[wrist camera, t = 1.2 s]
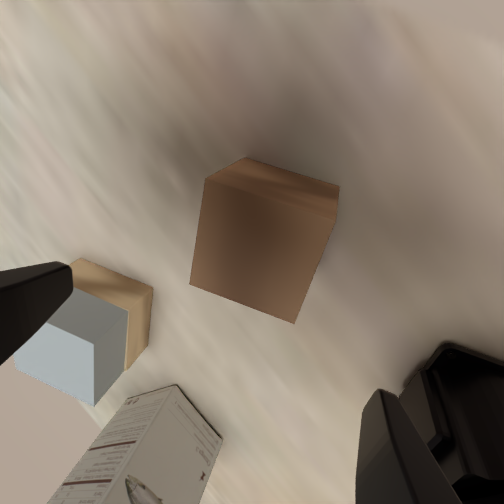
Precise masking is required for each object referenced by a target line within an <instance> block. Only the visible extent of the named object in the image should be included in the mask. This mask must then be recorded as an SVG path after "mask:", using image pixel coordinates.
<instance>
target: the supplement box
mask: <svg viewBox="0 0 504 504" xmlns="http://www.w3.org/2000/svg"><path fill="white" fill-rule="evenodd" d="M222 442H223V441H222V439H221V438H220V437H219V436H218V435H217V434H216V433H215V432H214V431H213V430H212V429H211V428H210V426H209V425H208V424H207V423H206V422H205V421H204V419H203V418H202V417H201V416H200V415H199V413H198V412H197V411H196V410H195V409H194V407H193V406H192V405H191V404H190V402H189V401H188V400H187V399H186V397H185V396H184V395H183V394H182V392H181V391H180V389H179V388H178V387H177V386H175V385H174V386H170V387H166V388H163V389H159V390H156V391H152V392H149V393H146V394H142V395H139V396H136V397H132V398H129V399H127V400H126V401H125V402H124V403H123V405H122V406H121V407H120V408H119V410H118V411H117V412H116V414H115V415H114V416H113V418H112V419H111V420H110V421H109V423H108V424H107V425H106V426H105V428H104V429H103V430H102V432H101V433H100V434H99V436H98V437H97V438H96V439H95V441H94V442H93V443H92V445H91V446H90V447H89V449H88V450H87V451H86V453H85V454H84V455H83V456H82V458H81V459H80V461H79V462H78V463H77V464H76V466H75V467H74V468H73V470H72V471H71V472H70V474H69V475H68V476H67V477H66V479H65V480H64V482H63V483H62V484H61V486H60V487H59V488H58V489H57V491H56V492H55V493H54V495H53V496H52V497H51V499H50V500H49V501H48V502H47V504H199V503H200V500H201V497H202V495H203V492H204V490H205V487H206V484H207V482H208V479H209V477H210V474H211V471H212V469H213V466H214V463H215V461H216V458H217V455H218V453H219V450H220V448H221V445H222Z"/></svg>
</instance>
